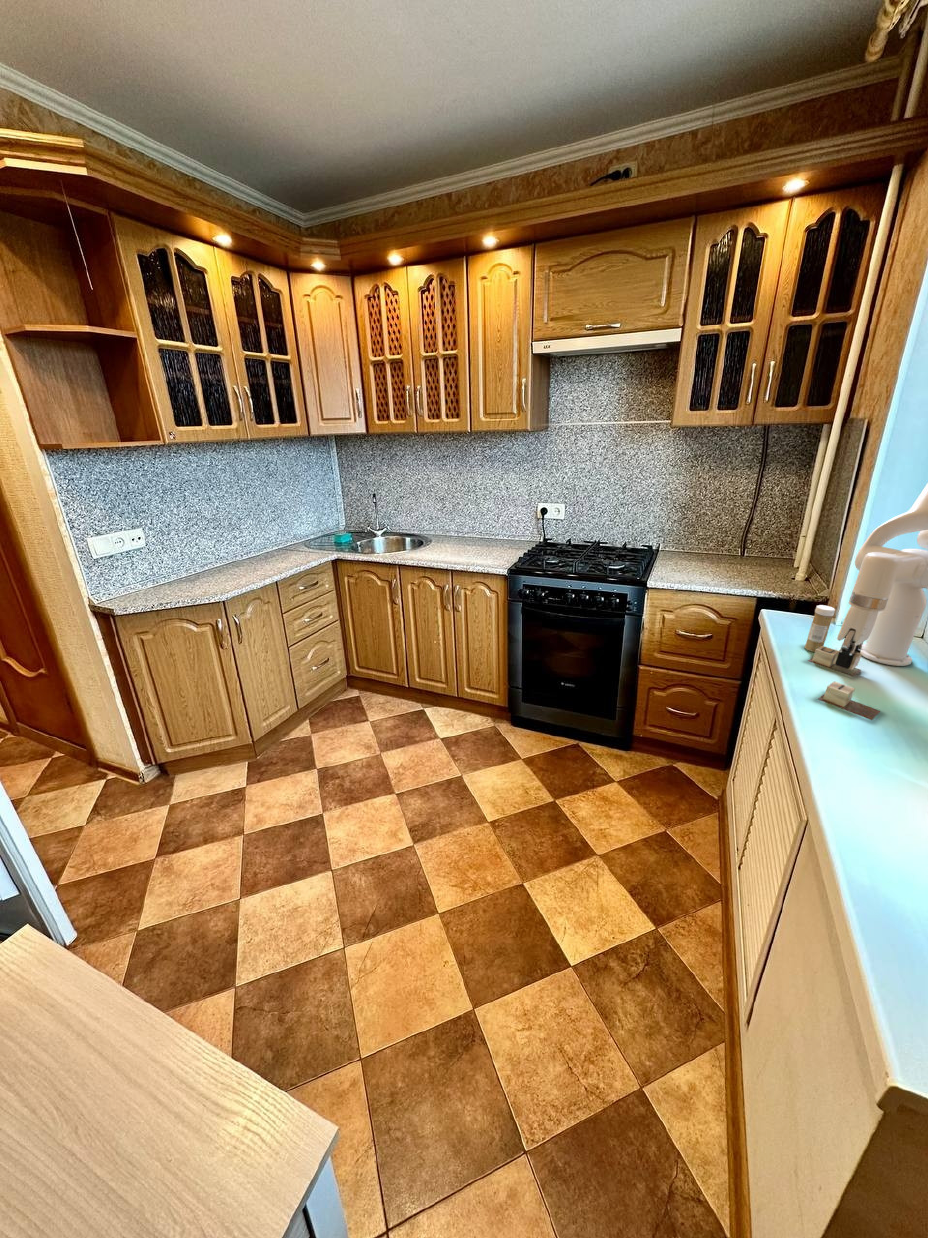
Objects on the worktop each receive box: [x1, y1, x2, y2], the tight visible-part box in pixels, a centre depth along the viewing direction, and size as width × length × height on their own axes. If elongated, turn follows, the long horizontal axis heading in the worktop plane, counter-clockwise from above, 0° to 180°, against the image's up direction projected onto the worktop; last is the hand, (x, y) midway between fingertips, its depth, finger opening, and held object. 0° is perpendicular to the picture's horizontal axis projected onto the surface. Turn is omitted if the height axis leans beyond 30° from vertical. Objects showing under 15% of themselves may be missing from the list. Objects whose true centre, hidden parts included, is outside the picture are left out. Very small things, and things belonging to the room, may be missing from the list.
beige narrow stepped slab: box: [807, 645, 862, 677], centre depth 139 cm, size 6×11×4 cm, turn 38°
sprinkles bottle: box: [804, 604, 836, 653], centre depth 148 cm, size 5×5×14 cm
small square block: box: [833, 649, 862, 670], centre depth 137 cm, size 4×4×4 cm
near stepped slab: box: [817, 681, 881, 721], centre depth 120 cm, size 6×11×4 cm, turn 38°
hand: (845, 663), depth 137 cm, fingers closed on small square block, 4 cm apart
